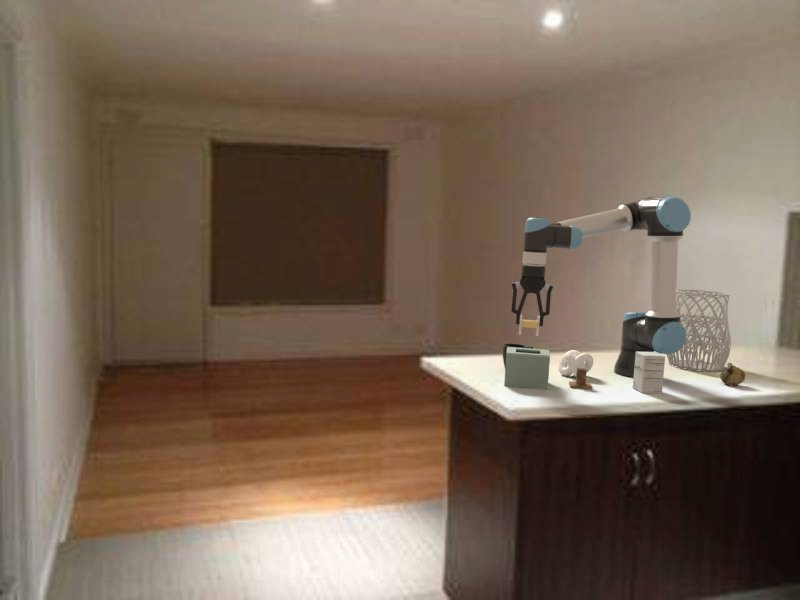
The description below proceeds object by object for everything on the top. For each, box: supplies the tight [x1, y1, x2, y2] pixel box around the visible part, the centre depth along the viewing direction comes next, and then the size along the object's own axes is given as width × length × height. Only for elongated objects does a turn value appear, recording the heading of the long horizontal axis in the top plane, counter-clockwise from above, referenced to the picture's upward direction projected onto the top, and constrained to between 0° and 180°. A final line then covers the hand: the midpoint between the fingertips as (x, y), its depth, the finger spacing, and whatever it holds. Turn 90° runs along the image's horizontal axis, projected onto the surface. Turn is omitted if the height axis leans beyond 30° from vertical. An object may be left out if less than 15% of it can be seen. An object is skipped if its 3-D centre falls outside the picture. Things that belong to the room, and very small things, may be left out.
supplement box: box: [632, 351, 666, 395], centre depth 248 cm, size 7×7×13 cm
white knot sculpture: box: [558, 349, 594, 377], centre depth 266 cm, size 11×12×9 cm
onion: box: [719, 362, 746, 386], centre depth 265 cm, size 8×8×8 cm
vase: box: [666, 289, 732, 372], centre depth 298 cm, size 24×24×30 cm
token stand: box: [568, 368, 593, 390], centre depth 250 cm, size 7×7×6 cm
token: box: [522, 318, 537, 329], centre depth 248 cm, size 5×5×2 cm
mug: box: [502, 343, 534, 368], centre depth 271 cm, size 8×12×10 cm
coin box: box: [503, 347, 551, 390], centre depth 250 cm, size 14×12×11 cm
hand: (528, 335), depth 249 cm, fingers closed on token, 5 cm apart
